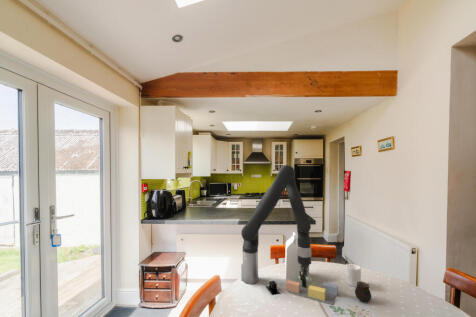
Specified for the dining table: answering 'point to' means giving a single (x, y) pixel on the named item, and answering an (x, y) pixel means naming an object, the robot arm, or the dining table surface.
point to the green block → (308, 281)
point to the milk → (292, 259)
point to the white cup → (353, 274)
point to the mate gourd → (363, 292)
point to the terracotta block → (293, 286)
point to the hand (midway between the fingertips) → (304, 285)
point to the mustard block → (317, 292)
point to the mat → (304, 293)
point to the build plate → (273, 288)
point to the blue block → (330, 288)
